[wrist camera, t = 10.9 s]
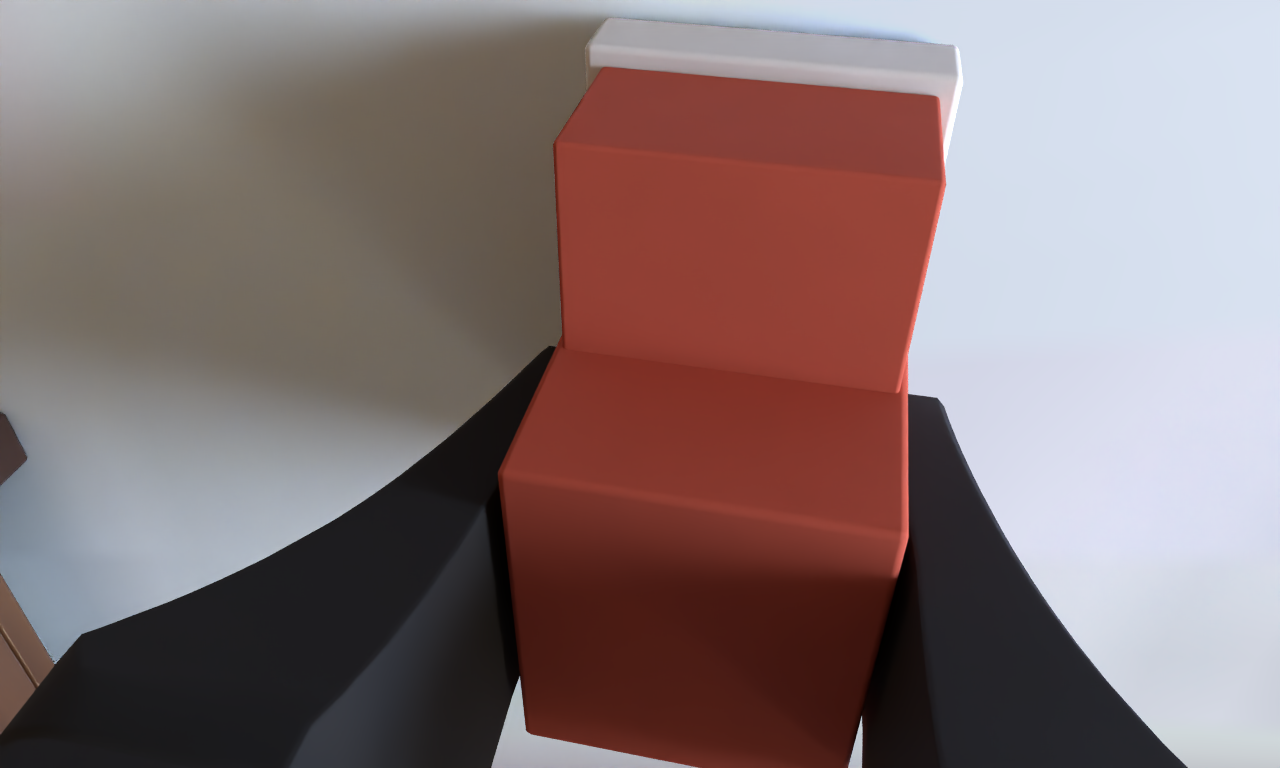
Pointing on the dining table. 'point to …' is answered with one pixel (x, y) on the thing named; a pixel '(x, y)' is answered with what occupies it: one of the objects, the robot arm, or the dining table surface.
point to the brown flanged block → (16, 616)
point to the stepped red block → (726, 391)
